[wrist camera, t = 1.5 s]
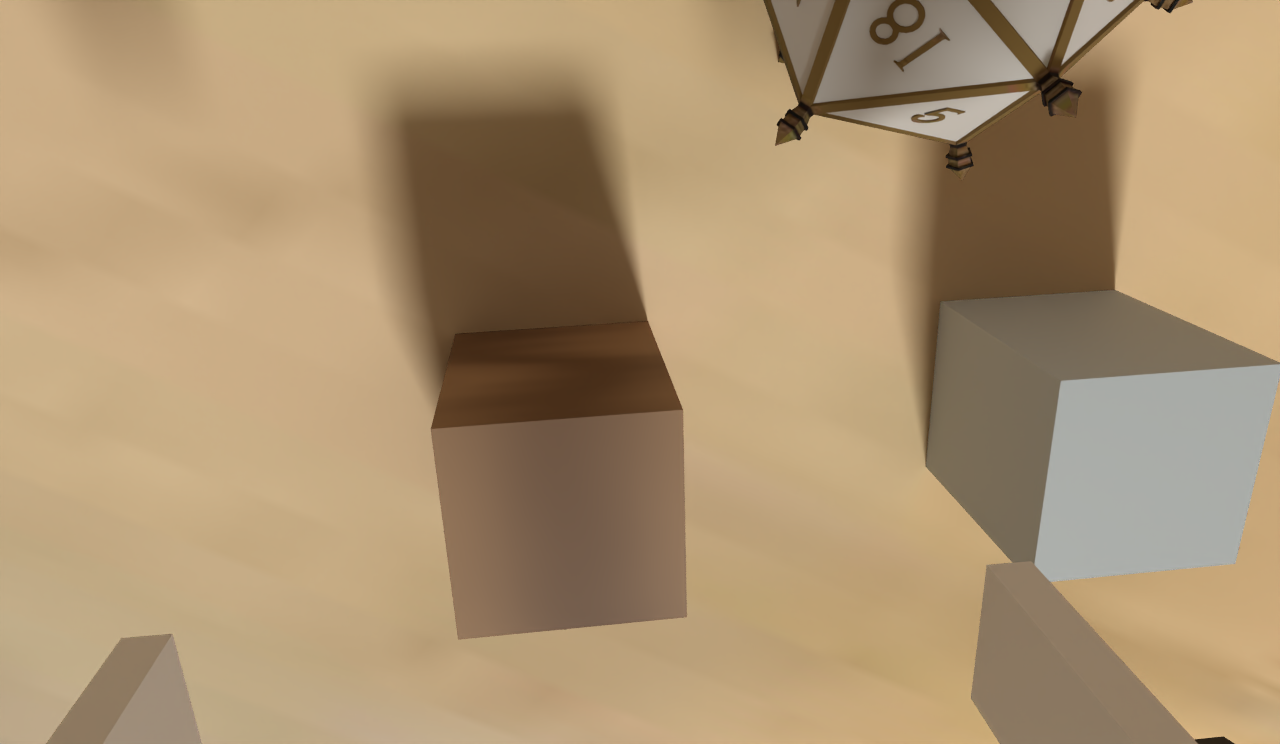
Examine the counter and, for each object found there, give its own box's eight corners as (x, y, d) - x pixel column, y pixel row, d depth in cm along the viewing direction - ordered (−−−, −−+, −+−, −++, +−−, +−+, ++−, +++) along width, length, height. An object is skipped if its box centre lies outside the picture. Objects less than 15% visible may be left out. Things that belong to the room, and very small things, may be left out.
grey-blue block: (925, 465, 26) (1031, 583, 20) (940, 300, 24) (1060, 381, 19) (1087, 452, 26) (1235, 563, 21) (1113, 289, 25) (1282, 364, 19)
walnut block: (475, 503, 25) (458, 639, 19) (455, 333, 23) (430, 429, 17) (653, 488, 25) (686, 617, 20) (647, 320, 24) (683, 409, 18)
